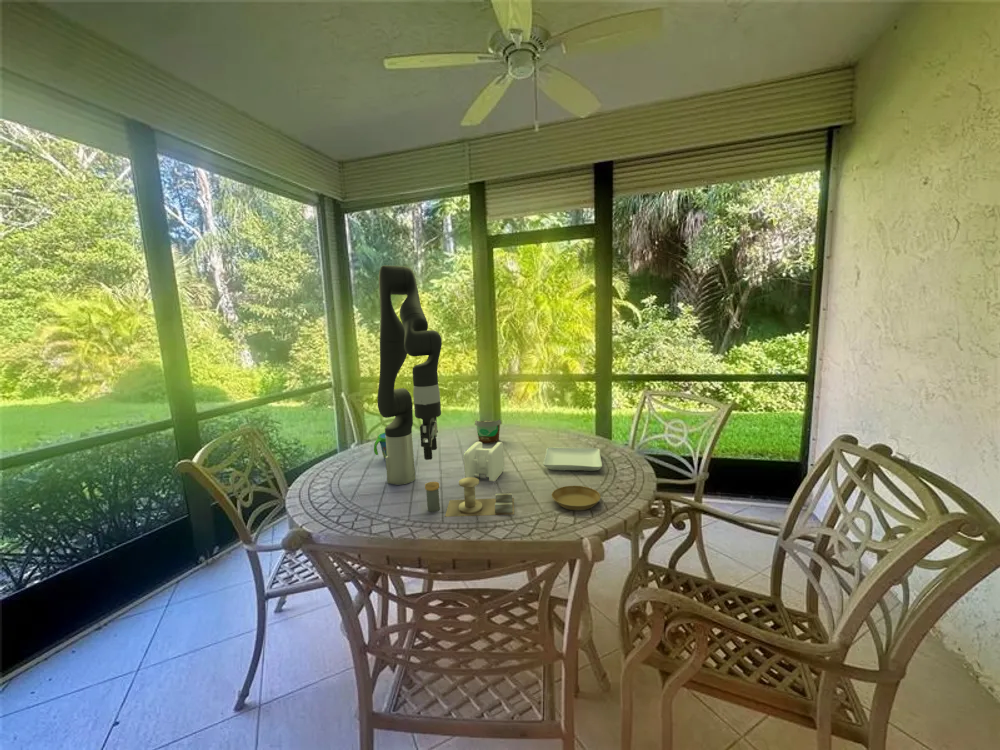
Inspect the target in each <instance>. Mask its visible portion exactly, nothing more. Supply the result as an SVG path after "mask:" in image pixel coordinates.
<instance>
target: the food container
mask: <svg viewBox="0 0 1000 750" xmlns="http://www.w3.org/2000/svg"><path fill="white" fill-rule="evenodd" d="M474 425H475V426H476V431H477V432H476V433H477V437H478V442H482V444H496V443H498V442H500V430H501V429H500V427H501V425H502V421H501V419H498V420H486V419H485V420H477V419H475V420H474Z"/></svg>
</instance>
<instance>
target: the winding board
mask: <svg viewBox="0 0 1000 750" xmlns="http://www.w3.org/2000/svg"><path fill="white" fill-rule="evenodd" d="M475 501H479V502H481V503H482V509H481V510H480V511H478V512H476V513H462V512H460V511H459V504H461V503H462V502H465V499H449V502H448V505H447V509H446V511H445V514H444V517H445V518H447V517H449V518H451V517H454V518H455V517H475V516H476V517H479V516H481V517H482V516H503V515H504V516H508V515H510V516H511V515H515V498H514V497H513V493H512V492H511V493H509V492H508V493H495V498H475Z"/></svg>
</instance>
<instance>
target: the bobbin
mask: <svg viewBox="0 0 1000 750" xmlns="http://www.w3.org/2000/svg"><path fill="white" fill-rule="evenodd" d="M479 484H480V479H479V478H478V477H475V478H474V477H468V478H465V477H463V478H461V479H459V480H458V485H459V486H460V487H462V488H463V493H464V495H463V497H464V500H465V502H462V503H461V504H459V511H460V512H462V513H476V512H478V511H480V510H481V509H482V503H481V502H479V501H475V499H476V487H477V486H478V485H479Z"/></svg>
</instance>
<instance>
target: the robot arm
mask: <svg viewBox="0 0 1000 750" xmlns="http://www.w3.org/2000/svg"><path fill="white" fill-rule="evenodd" d="M378 272H379V273H378V290H379V308H380V312H379V313H380V319H379V320H380V321H379V322H380V328H379V362H380V363H379V380H378V389H377V408H378V409H377V410H378V412H379V414H380V416H381V417H383V418H385V419H386V418H393V420H392V421H391V422H390V423H389V424H387V425H386V427H385V428H384V433H385V437H386V448H387V457H386V460H385V468H386V470H385V471H386V479H387V484H392V485H398V486H399V485H406V484H410V483H412V482H413V481H415V480H416V469H415V458H414V456H415V455H414V444H413V442H414V441H413V431H412V429H413V426H414V425H413V424H414V418H413V417H415V418H416V419H420V420H421V421H422V423H421V424H420V425H419V432H420V433H419V434H420V447H421V448H423V458H424V460H425V461H428V460H430V461H431V460H432V459H433V451H436V450H437V449H438V446H437V445H438V444H437V442H438V441H437V437H438V433H439V430H438V422H437V420H438V419H437V418H439V417H441V414H442V407H441V392H440V387H439V377H438V376H439V375H438V373H439V372H438V368H439V366H438V365H439V360H440V356H441V355H440V354H441V351H442V345H443V344H442V343H443V341H442V340H443V339H442V336H441V335H440V333H439V332H438V331H437V330H432V329H430V330H429V323H428V320H427V318H426V315H425V313H424V311H423V308H422V305H421V304H422V303H421V301H420V295H419V290H418V284H417V280H416V276H415V273H414V271H413V269H412V268H410V267H408V266H404V265H403V266H402V265H386V264H385V265H381V267H380V269H379V271H378ZM391 295H396V296H406V298H405V299H404V301H403V302H402V304H401V306H400V309H399V317H398V315H397V313H396V311H395V309H394V306H393V303H392V297H391ZM408 355H409V356H411V357H422V356H425V357H426V356H428V357H427V358H426V360H425V361H423V362H421V363H418V364H415V365H414V366H413V367H412V370H411V371H412V383H413V392H412V393H413V394H412V395H411V393H410V392H409V390H408V389H407V388H404V387H403V388H401V387H400V388H399V387H398V388H395V386H396V385H395V384H396V383H395V382H396V378H397V376H398V374H399V372H400V370H401V368H402V367H403V365H404V363H405V361H406V358H407V356H408ZM412 396H413V399H412ZM413 411H414V414H413ZM413 415H414V416H413ZM426 440H427V442H426Z"/></svg>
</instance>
